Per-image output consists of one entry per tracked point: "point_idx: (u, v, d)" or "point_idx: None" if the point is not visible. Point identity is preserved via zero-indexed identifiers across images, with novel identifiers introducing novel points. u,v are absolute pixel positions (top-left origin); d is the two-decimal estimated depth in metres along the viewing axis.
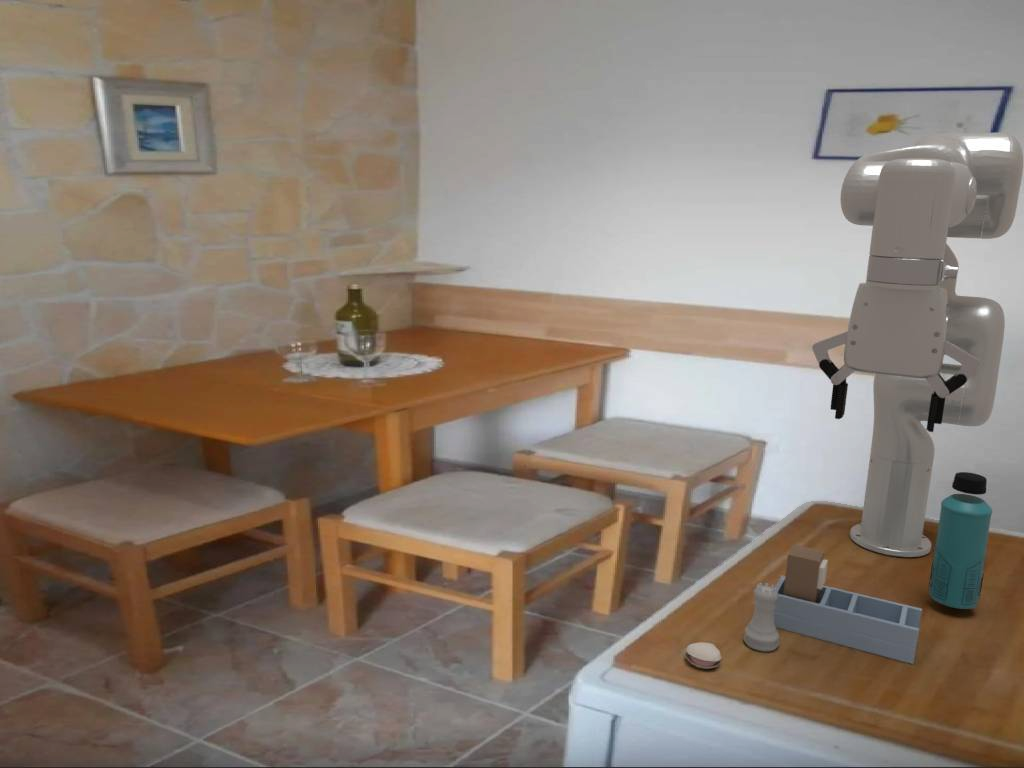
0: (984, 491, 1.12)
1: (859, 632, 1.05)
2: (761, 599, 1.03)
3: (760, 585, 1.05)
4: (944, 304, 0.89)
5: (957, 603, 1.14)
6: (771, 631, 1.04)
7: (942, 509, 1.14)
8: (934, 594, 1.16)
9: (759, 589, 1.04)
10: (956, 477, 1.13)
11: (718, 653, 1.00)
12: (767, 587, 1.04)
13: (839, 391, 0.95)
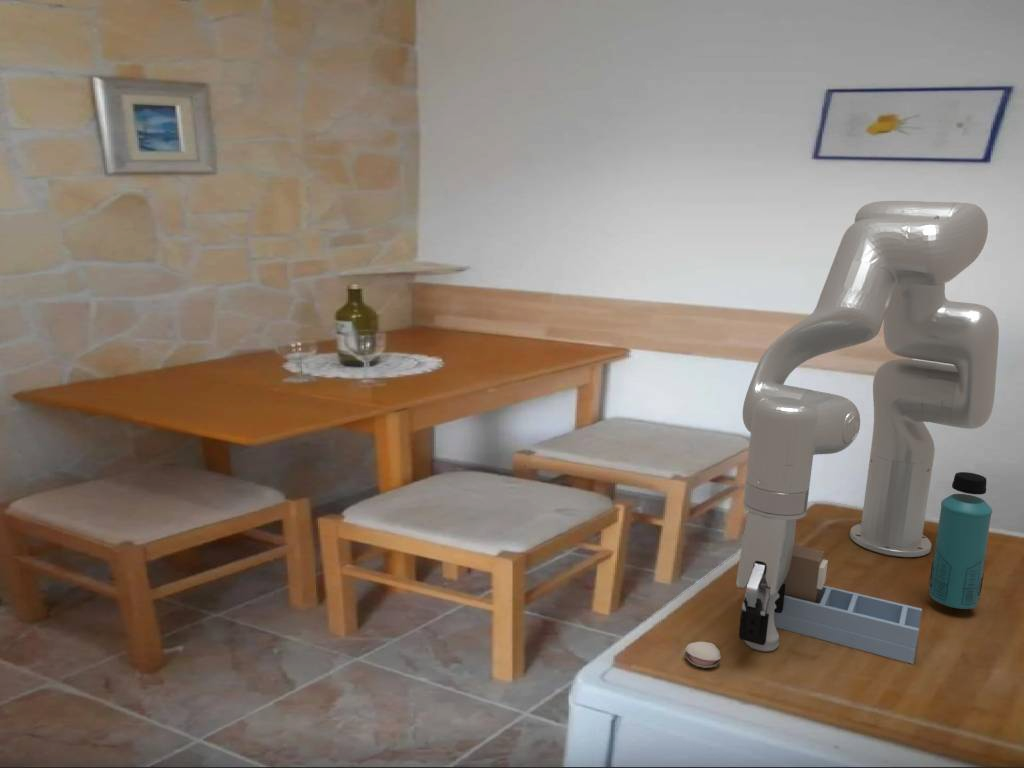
0: (984, 491, 1.12)
1: (859, 632, 1.05)
2: (761, 599, 1.03)
3: None
4: None
5: (957, 603, 1.14)
6: (771, 631, 1.04)
7: (942, 509, 1.14)
8: (934, 594, 1.16)
9: None
10: (956, 477, 1.13)
11: (717, 652, 1.00)
12: None
13: (767, 620, 0.99)
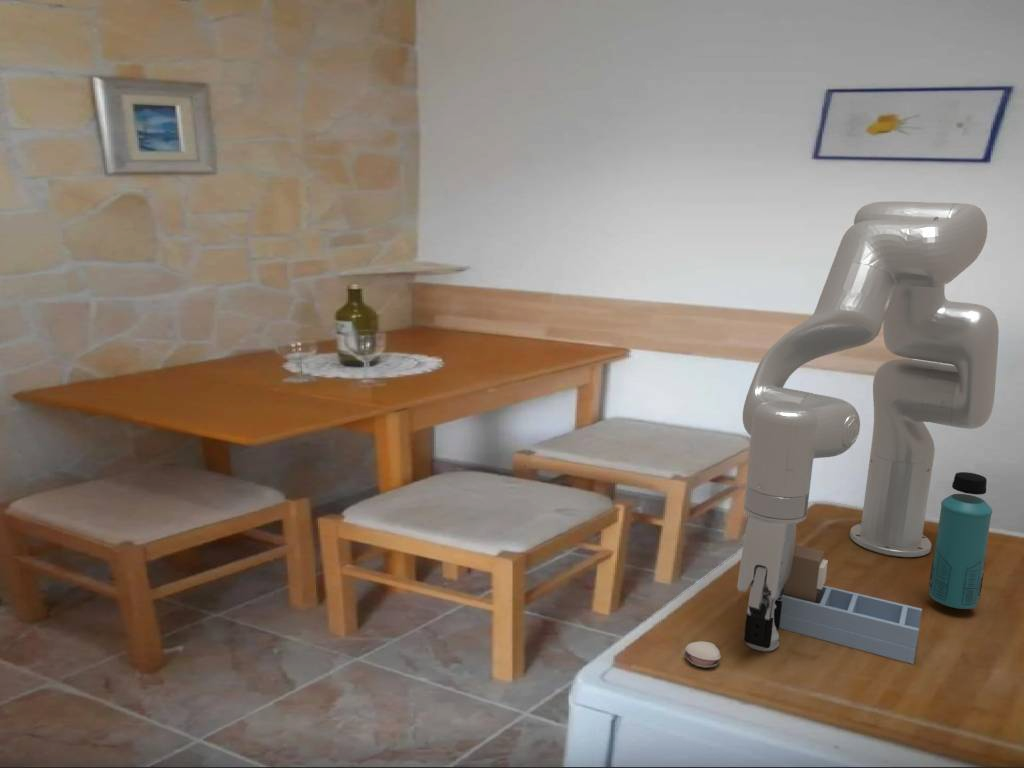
0: (984, 491, 1.12)
1: (859, 632, 1.05)
2: None
3: None
4: None
5: (957, 603, 1.14)
6: None
7: (942, 509, 1.14)
8: (934, 594, 1.16)
9: None
10: (956, 477, 1.13)
11: (717, 652, 1.00)
12: None
13: (772, 624, 1.02)
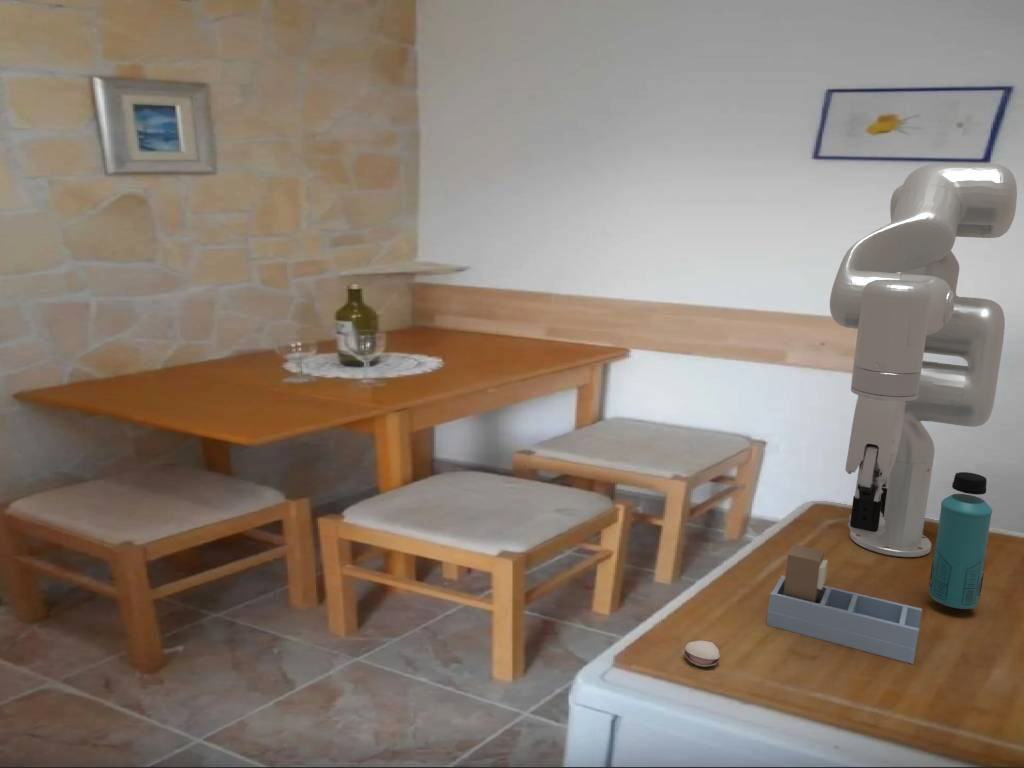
0: (984, 491, 1.12)
1: (859, 632, 1.05)
2: None
3: None
4: None
5: (957, 603, 1.14)
6: None
7: (942, 509, 1.14)
8: (934, 594, 1.16)
9: None
10: (956, 477, 1.13)
11: (717, 651, 1.00)
12: None
13: (880, 506, 1.00)
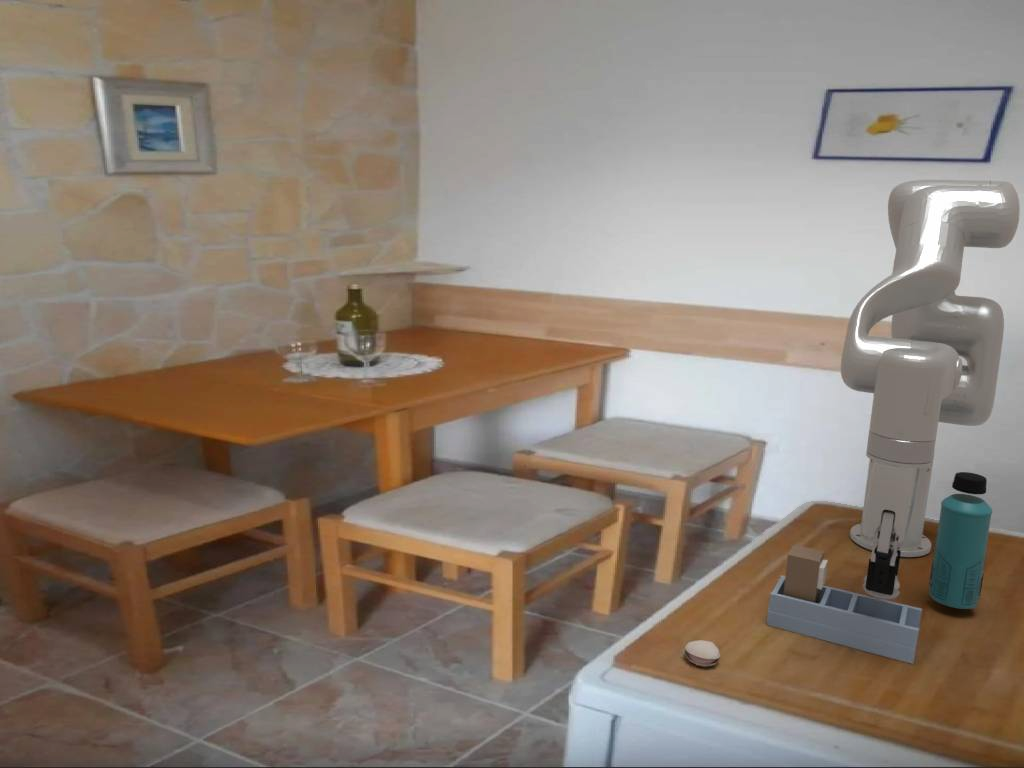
0: (984, 491, 1.12)
1: (859, 632, 1.05)
2: None
3: None
4: None
5: (957, 603, 1.14)
6: None
7: (942, 509, 1.15)
8: (934, 594, 1.16)
9: None
10: (956, 477, 1.13)
11: (717, 651, 1.00)
12: None
13: (896, 570, 1.02)
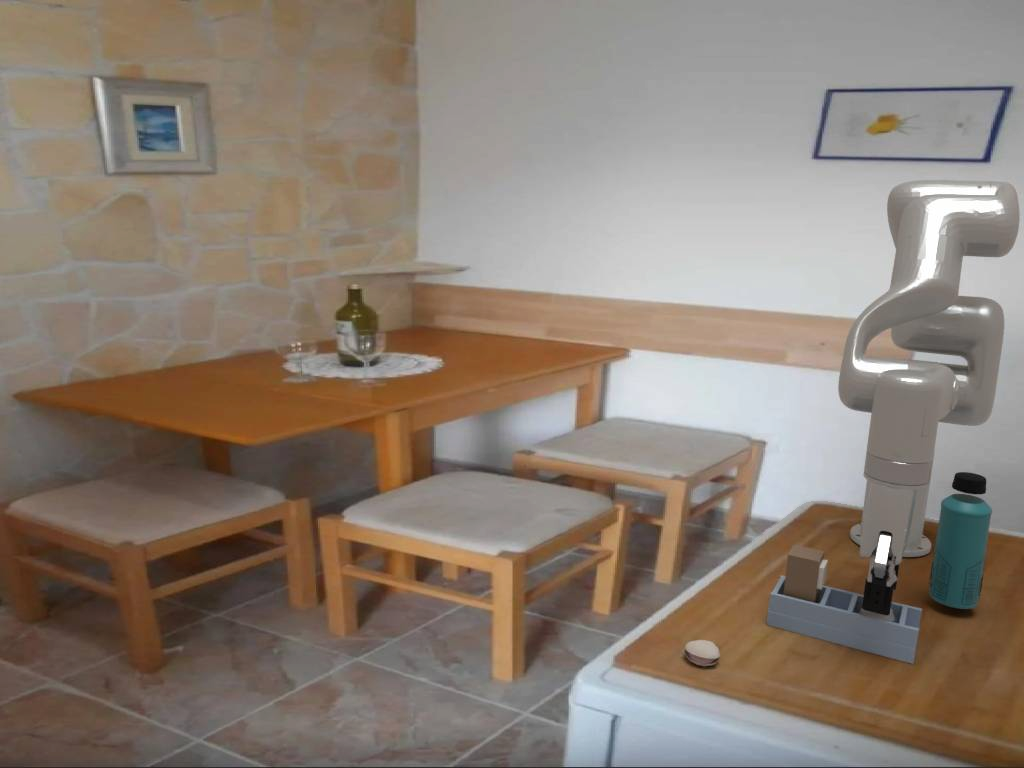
0: (984, 491, 1.12)
1: (859, 632, 1.05)
2: None
3: None
4: None
5: (957, 603, 1.14)
6: None
7: (942, 509, 1.14)
8: (934, 594, 1.16)
9: None
10: (956, 477, 1.13)
11: (717, 650, 1.00)
12: None
13: (892, 591, 1.01)
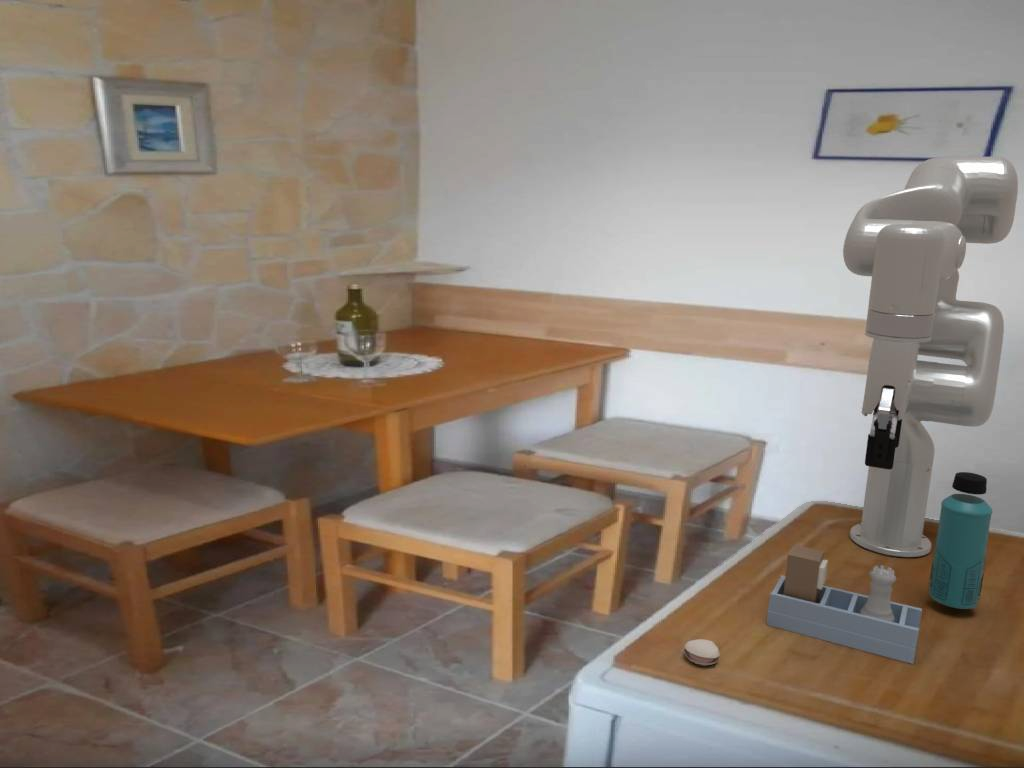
0: (984, 491, 1.12)
1: (859, 632, 1.05)
2: (879, 581, 1.05)
3: (876, 568, 1.06)
4: None
5: (957, 603, 1.14)
6: (888, 613, 1.05)
7: (942, 509, 1.14)
8: (934, 594, 1.16)
9: (877, 571, 1.05)
10: (956, 477, 1.13)
11: (716, 650, 1.01)
12: (883, 570, 1.06)
13: (895, 443, 1.00)
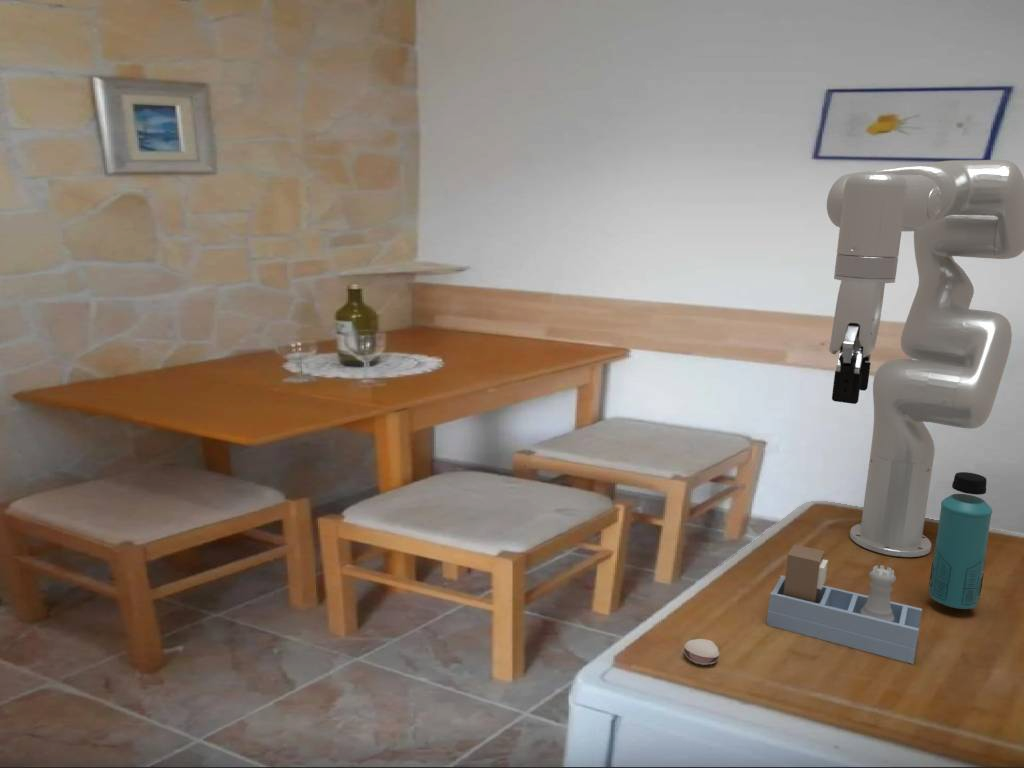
0: (984, 491, 1.12)
1: (859, 632, 1.05)
2: (879, 581, 1.05)
3: (876, 568, 1.06)
4: None
5: (957, 603, 1.14)
6: (888, 613, 1.05)
7: (942, 509, 1.14)
8: (934, 594, 1.16)
9: (876, 571, 1.05)
10: (956, 477, 1.13)
11: (716, 649, 1.01)
12: (883, 570, 1.06)
13: (860, 379, 1.07)
